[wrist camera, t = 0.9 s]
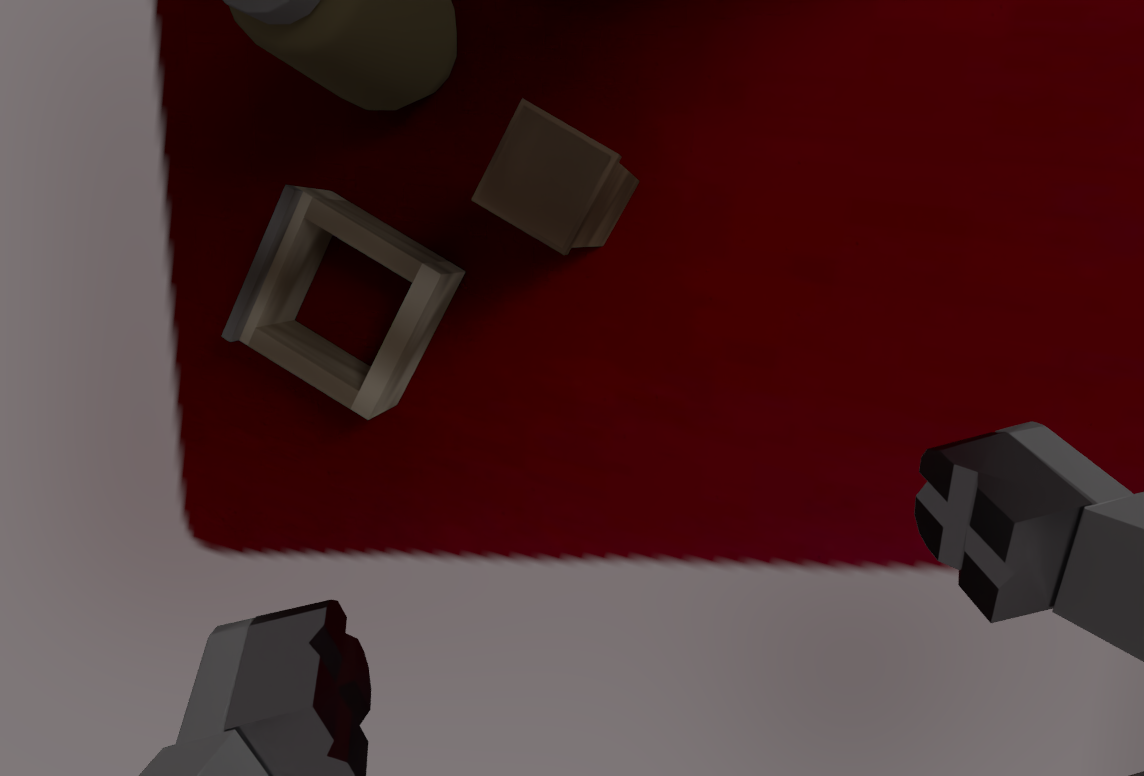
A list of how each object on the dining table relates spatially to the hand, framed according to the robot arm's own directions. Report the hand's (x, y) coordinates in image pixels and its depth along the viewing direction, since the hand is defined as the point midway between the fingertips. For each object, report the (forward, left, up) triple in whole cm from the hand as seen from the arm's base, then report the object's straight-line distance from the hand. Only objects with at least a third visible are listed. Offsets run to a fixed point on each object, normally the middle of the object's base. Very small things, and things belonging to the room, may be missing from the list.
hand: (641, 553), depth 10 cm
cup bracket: (+9, -17, -32) cm, 37 cm away
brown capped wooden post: (-3, -8, -32) cm, 33 cm away
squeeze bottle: (-5, -21, -32) cm, 39 cm away
